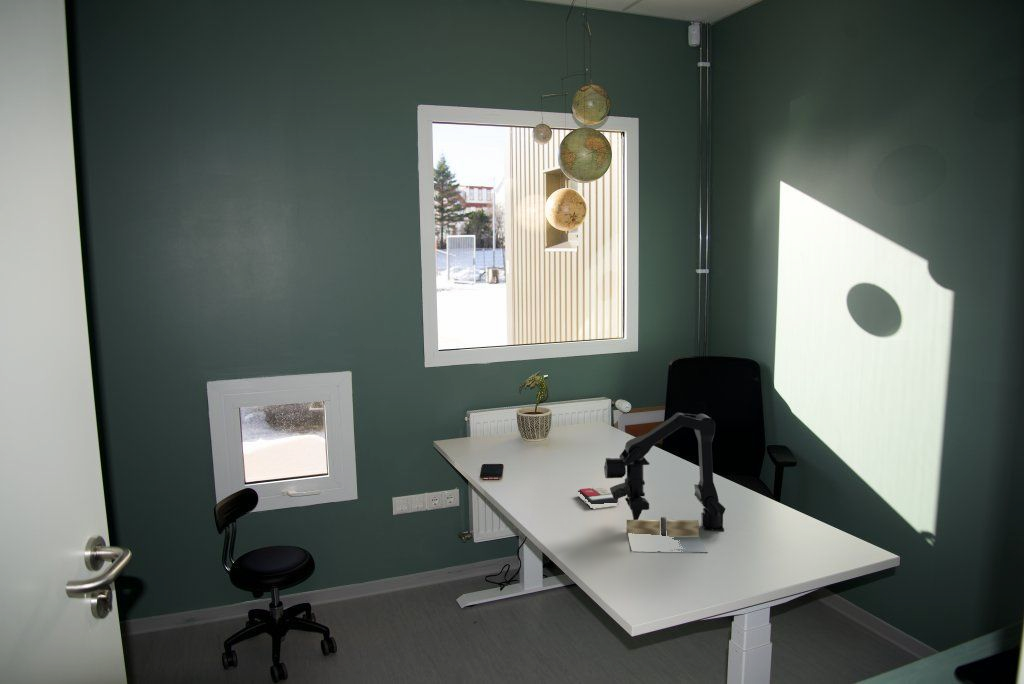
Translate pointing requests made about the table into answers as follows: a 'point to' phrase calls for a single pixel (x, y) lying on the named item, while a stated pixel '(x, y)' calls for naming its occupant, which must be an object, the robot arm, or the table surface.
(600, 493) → the red and black book
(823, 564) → the table surface
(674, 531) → the fence base
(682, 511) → the table surface
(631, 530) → the fence panel
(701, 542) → the card
